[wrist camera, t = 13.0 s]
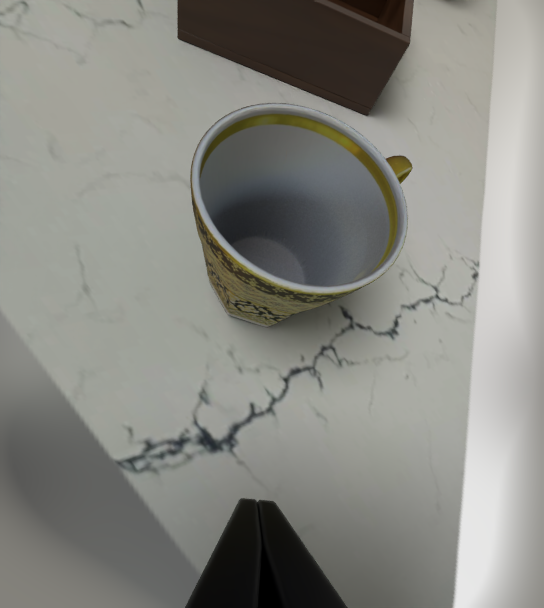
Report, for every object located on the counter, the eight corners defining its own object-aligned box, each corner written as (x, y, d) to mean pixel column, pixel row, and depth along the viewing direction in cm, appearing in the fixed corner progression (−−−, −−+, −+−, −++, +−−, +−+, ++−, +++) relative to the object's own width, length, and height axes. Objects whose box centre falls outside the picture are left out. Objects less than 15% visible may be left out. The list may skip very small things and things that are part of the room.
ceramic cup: (230, 379, 21) (269, 335, 12) (159, 247, 23) (148, 125, 14) (380, 296, 26) (486, 221, 17) (311, 193, 28) (375, 77, 19)
